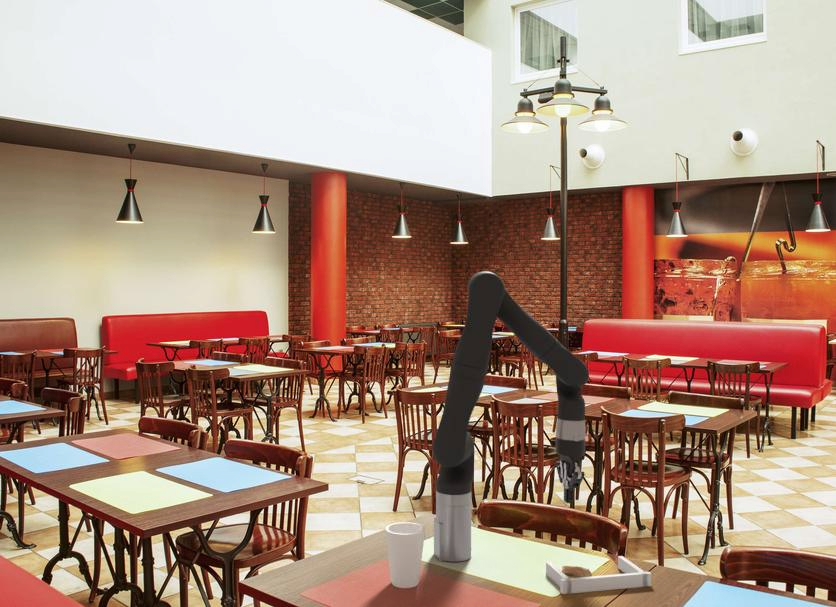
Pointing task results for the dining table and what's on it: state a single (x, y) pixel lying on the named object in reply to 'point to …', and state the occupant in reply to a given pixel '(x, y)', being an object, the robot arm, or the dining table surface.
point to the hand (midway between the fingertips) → (568, 502)
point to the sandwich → (576, 572)
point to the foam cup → (405, 552)
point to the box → (601, 579)
